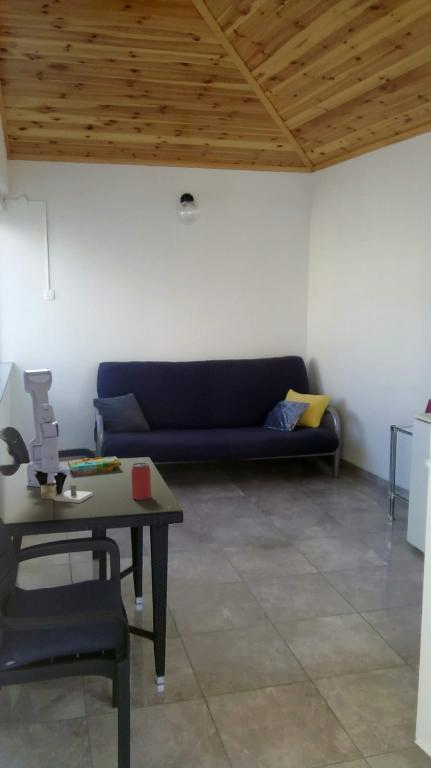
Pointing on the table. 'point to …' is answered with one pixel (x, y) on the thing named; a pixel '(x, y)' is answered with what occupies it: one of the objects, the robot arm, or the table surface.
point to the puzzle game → (93, 465)
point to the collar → (49, 490)
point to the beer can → (141, 481)
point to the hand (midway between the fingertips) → (52, 492)
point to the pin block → (73, 495)
